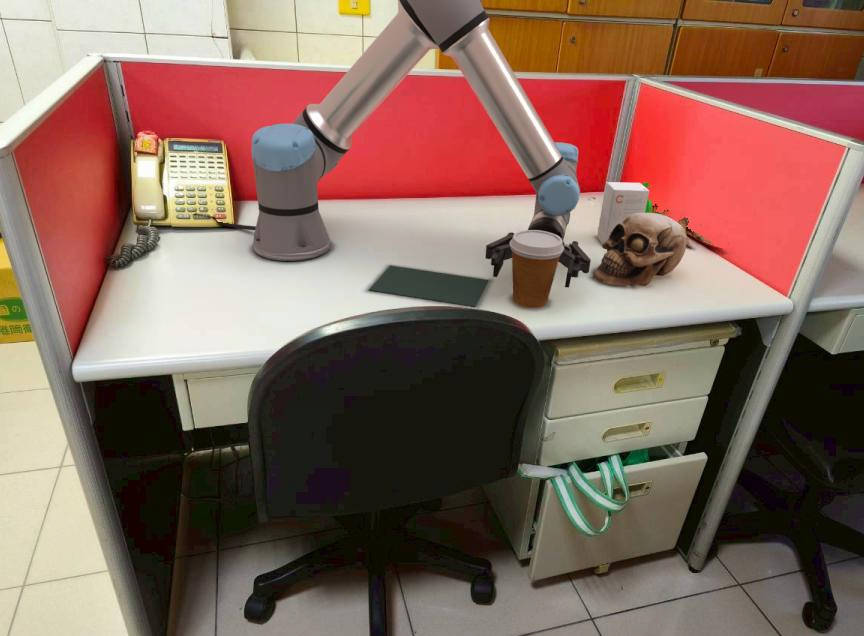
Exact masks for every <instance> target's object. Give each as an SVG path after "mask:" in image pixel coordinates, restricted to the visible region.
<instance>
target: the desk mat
mask: <svg viewBox="0 0 864 636" xmlns="http://www.w3.org/2000/svg"><path fill="white" fill-rule="evenodd" d="M488 282H489V279H484V278H478V277H472V276H465V275H458V274H450V273H443V272H437V271H430V270H424V269H419V268H411V267H404V266H396V265H389V266H388V267H387V268H386V269H385V270H384V271H383V273H382V274H381V275H380V276H379V277H378V278H377V279H376V280H375V282H374V283H373V284H372V286H370V288H368V291H370V292H377V293H382V294H383V293H384V294H390V295H396V296H401V297H409V298H415V299H422V300H427V301H434V302H441V303H446V304H447V303H448V304H453V305H460V306H465V307H473V308H476V306H477V305H478V303H479V301H480V298H481V296H482V294H483V292H484V290H485V288H486V286H487V284H488Z"/></svg>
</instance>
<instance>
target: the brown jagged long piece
mask: <svg viewBox="0 0 864 636" xmlns="http://www.w3.org/2000/svg"><path fill="white" fill-rule="evenodd" d="M678 223H679V224H680V225H681V226H682V227H683V229H684V231H685V235H686V248H688V249H693V247H692V244H691V243H690V241H689V238H688V236H690V237H691V238H693V239H696V240H697V241H699V242H701V243H703V244H704V245H706V246H708V247H709V246H710V247H711V248H716V249H718V248H717V247H715V246H712V245H710V244H708V243H711V242H710V241H711V240H706V239H705V238H704V237H703V236H702V235H699V234H697V233H695V232H694V231H693V232H692V231H691V229H688V227H686V226H687V225H688V223H689V220H688V218H685V217H684V218H683V219H681V220H680V219H679V221H678ZM690 233H691V234H690ZM687 235H688V236H687ZM704 241H706V242H708V243H706V242H704Z"/></svg>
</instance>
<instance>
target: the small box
mask: <svg viewBox="0 0 864 636" xmlns="http://www.w3.org/2000/svg"><path fill="white" fill-rule="evenodd" d="M649 195H650V190H649V189H648V187H647V188H646V186H643V183H641V182H623V181H622V182H621V181H620V182H619V181H606V182H605V186H604V191H603V198H602V204H601V209H600V215H599V220H598V221H599V222H598V228H597V234H596V238H597V239H598V240H599V241H600V242H601V244H602V245H603V244H604V243H605V242H606V241H607V240H608V239H609V236H610V234H611V232H612V230H613V229H614V227H615V226H616V225H617V224H619V223H622V222H623V221H624V220H625V219H626V218H627V217H628V216H630V215H631V214H634V213H645V209H646V204H647V200H649Z"/></svg>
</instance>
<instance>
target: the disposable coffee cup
mask: <svg viewBox="0 0 864 636" xmlns="http://www.w3.org/2000/svg"><path fill="white" fill-rule="evenodd" d="M514 233H515V234H514V235H513V238H512V240H511V241H510V247H511V250H512V258H511V276H512V277H511V278H512V279H511V280H512V301H513V302H514V303H515V304H516V305H518V306H520V307H523V308H528V309H539V308H542V307H545V306H546V305H547V304H548V300H549V296H550V294H551V293H550V292H551V289H552V286H553V282H554V280H555V275H556V272H557V267H558V265H559V262H558V261H559V258H560V255H561V254H562V252H563V250H564V246H563V244H562V239H561V238H560V237H559V236H557V235H555V234H553V233H550V232H546V231H539V230H528V229H525V230H519V231H516V232H514Z"/></svg>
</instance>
